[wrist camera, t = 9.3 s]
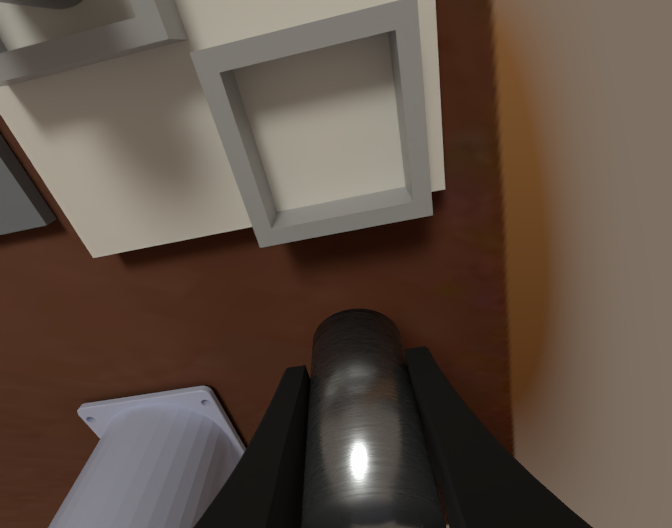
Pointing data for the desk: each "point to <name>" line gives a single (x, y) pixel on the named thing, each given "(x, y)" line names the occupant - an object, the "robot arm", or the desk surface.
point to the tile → (19, 196)
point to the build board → (225, 114)
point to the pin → (365, 431)
